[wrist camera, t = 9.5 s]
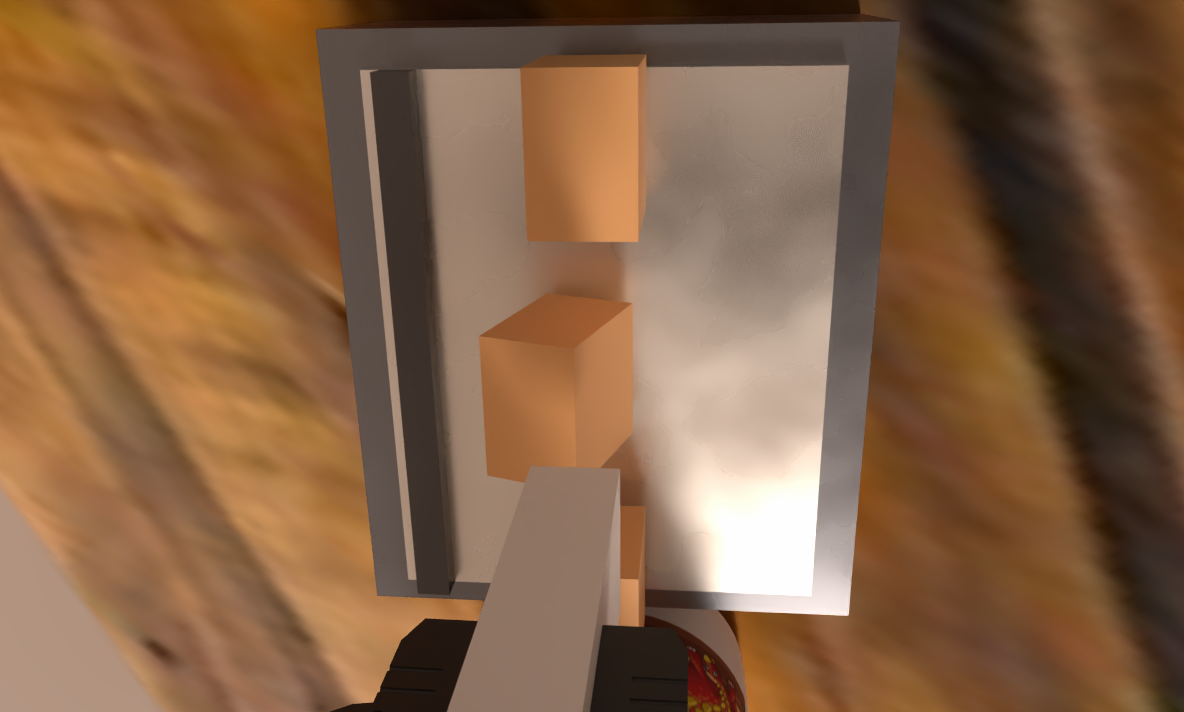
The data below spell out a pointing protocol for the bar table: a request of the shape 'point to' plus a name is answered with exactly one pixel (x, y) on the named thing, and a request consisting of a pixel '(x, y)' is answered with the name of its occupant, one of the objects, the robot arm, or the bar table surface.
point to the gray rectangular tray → (623, 289)
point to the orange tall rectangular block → (584, 147)
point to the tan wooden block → (632, 566)
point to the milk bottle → (706, 657)
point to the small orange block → (557, 385)
